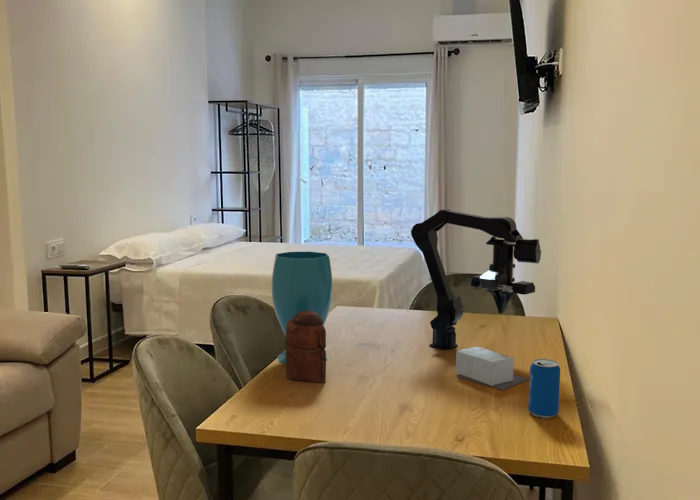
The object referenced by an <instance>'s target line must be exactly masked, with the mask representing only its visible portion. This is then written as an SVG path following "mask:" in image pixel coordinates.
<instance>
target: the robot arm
mask: <svg viewBox="0 0 700 500" xmlns="http://www.w3.org/2000/svg"><path fill="white" fill-rule="evenodd" d="M447 224H449V225H455V226H459V227H460V226H461V227H465V228H468V229H473V230H474V229H475V230H479V231H482V232H483V233H486V234H488V235H491V238H490V239H489V240H488V241H486V242H485V244H486V245H487V246H489V245H490V246H492V247H493V248H492V249H493V250H492V263H490V264H489V269H488V270H487V271H486V272H484V273H483V274H480V275H475V276H472V277H471V279H470V286H471V287H475V288H479V287H481V289H485V290H486V291H487V292H488V293H490V295H492V298H493V300H494V302H495V306H496V309H497V311H498V314H504V312H505V311H506V308H507V306H508V304H509V303H510V300H511V299H512V298H513V296H514V295H515V294H517V295H530V294H533V293H536V286H535V283H534V282H533V281H532V282H530V281H525V280H521V281H516V279H515V277H513V272H514V271H513V269H515V268H516V264H515V263H514V259H515V260H516V261H517V263H529V264H530V263H531V264H539V263H540V261H541V256H542V250H541V246H540V245H541V244H540V239H539V238H538V239H537V238H532V239H528V238H527V239H526V238H525V239H524V237H523V236H522V234H521V233H520V232H519V230H518V228H517V223H516V222H515V220H514V219H513V218H511V217H508V216H494V217H493V216H481V215H477V214H473V213H472V214H471V213H465V212H461V211H460V212H459V211H454V210H451V209H448V208H446V209H445V208H444V209H440V210H438V211H437V212H436V213H435V214H433V215H432V216H430V217H429V218H427V219H425V220H424V221H422V222H418V223H416V224H414V225H413V226H412V228H411V230H410V234H411V238H412V240H413V241H414V244H415V245H416V247H417V248H418V249H419V250H420V252H421V253H422V254H423V258H424V261H425V264H426V267H427V270H428V274H429V277H430V280H431V282H432V286H433V289H434V291H435V292H434V293H435V294H436V307H435V308H436V312H437V315H436V316H435V317H434V318H433V319H432V320H430V322H429V324H430V326H431V329H432V342H431V343H429V345H428V346H430V347H432V348H433V347H434V348H435V349H441V350H444V351H446V350H449V349H453V348H456V347H458V344H457V342H456V341H457V333H456V327H454V326H456V325H457V324H458V321H460V320H461V319H462V317H463V315H464V309H465V307H464V305H463V303H462V299H461V296H460V295H458V296H455V295H454V293H453V292H452V289H451V286H450V283H449V279H448V278H447V274H446V271H445V268H444V266H443V262H442V259H441V256H440V253H439V249H438V241H439V237H438V232H439V231H440V230H441V229H443V228H444V227H445V225H447ZM515 281H516V282H515Z"/></svg>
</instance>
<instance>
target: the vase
mask: <svg viewBox="0 0 700 500" xmlns="http://www.w3.org/2000/svg"><path fill="white" fill-rule="evenodd" d="M271 275H272V276H271V295H272V296H271V298H272V305H273V309H274V312H275V315H276V318H277V320H278V322H279V325H280V327H281V329H282V332H283V334H284V336H285V337H286V326H287V323H288V321H290V320H292V318H293V317H294V316H295V315H296V314H297V313H299V312H302V311H314V312H316V313H317V314H319V315H320V316H321V317H322V319H323V324H322V325H323V326H324V327H325V324H326V321H327V318H328V316H329V313H330V309H331V304H332V300H333V299H332V298H333V275H332V266H331V259H330V255H328V253H327V252H318V251H317V252H316V251H286V252H281V253H280V252H279V253H275V257H274V263H273V267H272V274H271ZM277 360H278V363H282V364H285V365H286V349H285V350H283V352H282V353H280V354H278V355H277ZM326 361H328V358H327V357H326Z"/></svg>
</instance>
